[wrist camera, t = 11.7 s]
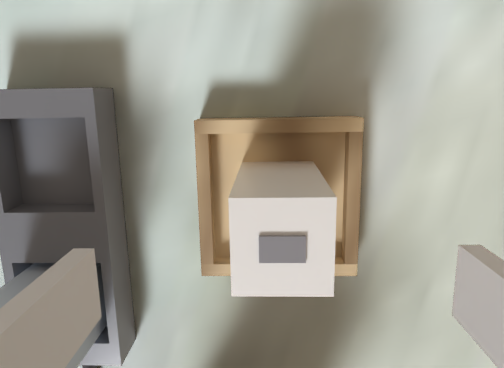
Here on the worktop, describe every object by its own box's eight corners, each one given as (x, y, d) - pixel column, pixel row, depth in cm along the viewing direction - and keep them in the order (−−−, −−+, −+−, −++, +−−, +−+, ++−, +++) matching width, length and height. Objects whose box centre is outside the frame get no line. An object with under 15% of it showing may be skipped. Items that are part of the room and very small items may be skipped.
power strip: (143, 423, 31) (128, 465, 28) (55, 422, 32) (29, 463, 28) (112, 88, 26) (87, 87, 22) (6, 90, 26) (-35, 89, 22)
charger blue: (48, 318, 28) (-53, 421, 19) (39, 258, 27) (-71, 339, 18) (111, 318, 28) (38, 423, 19) (104, 259, 27) (24, 340, 18)
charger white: (243, 229, 26) (231, 298, 18) (242, 162, 26) (227, 199, 17) (311, 228, 26) (334, 298, 17) (313, 161, 25) (337, 198, 16)
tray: (206, 263, 28) (201, 275, 26) (199, 118, 26) (194, 120, 24) (350, 262, 28) (356, 275, 26) (356, 116, 25) (363, 118, 23)
